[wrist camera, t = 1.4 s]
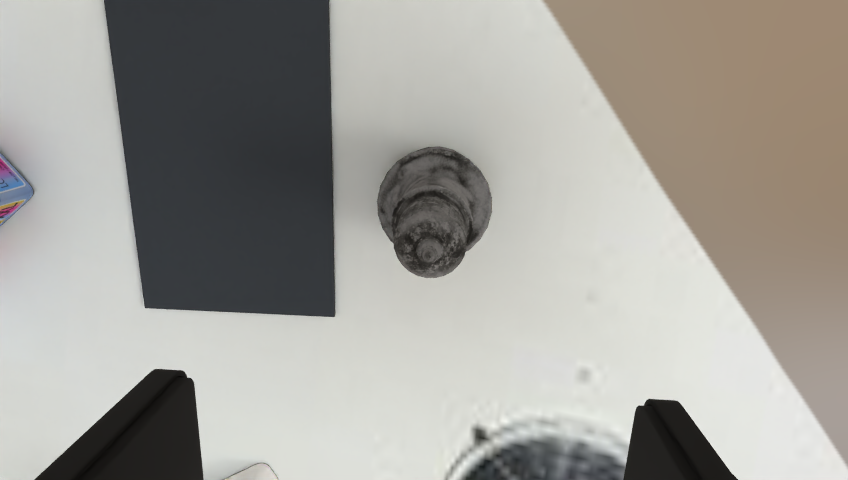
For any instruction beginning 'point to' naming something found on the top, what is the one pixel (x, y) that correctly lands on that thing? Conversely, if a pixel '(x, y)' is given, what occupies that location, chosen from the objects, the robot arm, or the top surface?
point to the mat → (228, 151)
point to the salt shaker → (434, 209)
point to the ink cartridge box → (11, 190)
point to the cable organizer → (255, 473)
